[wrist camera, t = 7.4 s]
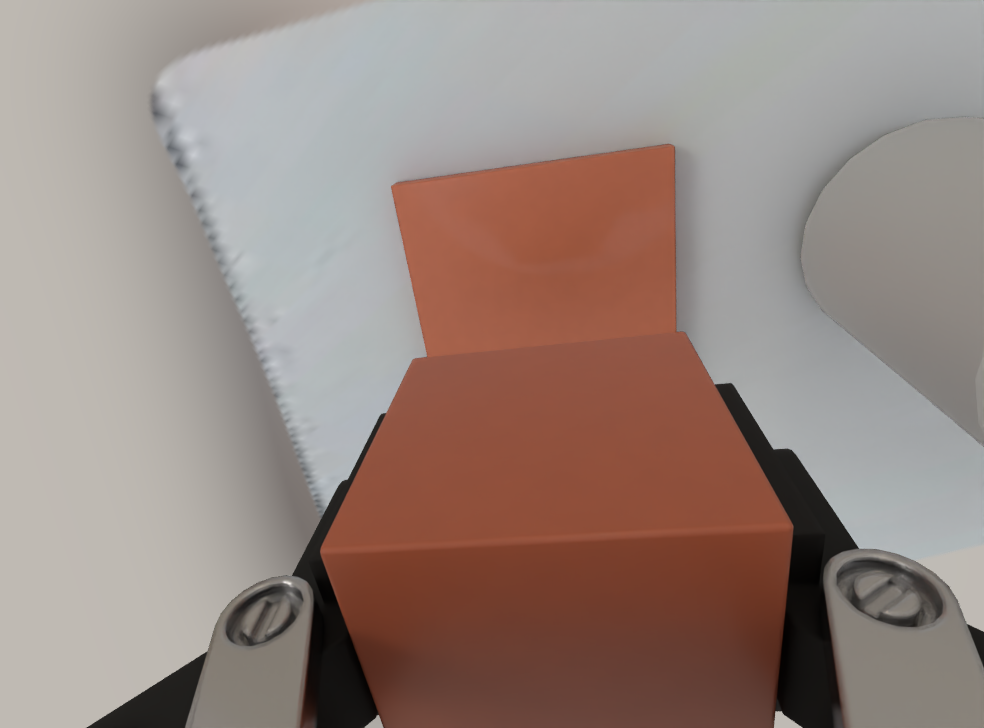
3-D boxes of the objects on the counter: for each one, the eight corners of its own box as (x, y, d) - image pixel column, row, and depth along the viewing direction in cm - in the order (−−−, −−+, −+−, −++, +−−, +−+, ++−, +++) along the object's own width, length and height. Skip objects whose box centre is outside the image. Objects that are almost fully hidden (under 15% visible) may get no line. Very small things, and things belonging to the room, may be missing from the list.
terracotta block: (685, 329, 10) (796, 525, 6) (686, 544, 12) (767, 812, 8) (411, 357, 11) (315, 551, 6) (457, 556, 13) (410, 807, 8)
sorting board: (670, 143, 20) (675, 145, 19) (674, 487, 26) (677, 499, 26) (395, 182, 21) (390, 185, 21) (462, 499, 28) (459, 511, 27)
